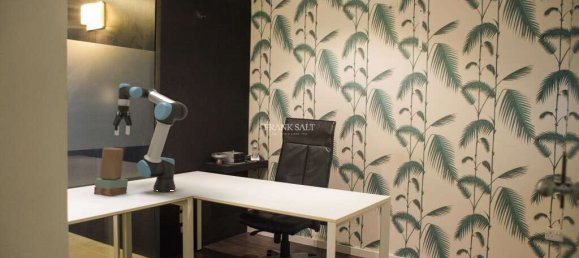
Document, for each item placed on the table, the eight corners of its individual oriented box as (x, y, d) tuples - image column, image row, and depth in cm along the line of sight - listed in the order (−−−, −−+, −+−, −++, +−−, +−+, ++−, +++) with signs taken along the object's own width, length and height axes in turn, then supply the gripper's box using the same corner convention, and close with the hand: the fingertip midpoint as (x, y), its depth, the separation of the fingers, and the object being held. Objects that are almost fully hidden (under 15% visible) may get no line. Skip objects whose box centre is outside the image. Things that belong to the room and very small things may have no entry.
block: (114, 180, 275) (117, 149, 275) (99, 178, 276) (102, 147, 276) (121, 178, 285) (124, 148, 285) (106, 177, 286) (109, 147, 286)
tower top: (127, 186, 284) (127, 179, 284) (109, 189, 271) (109, 181, 271) (112, 184, 290) (113, 176, 290) (94, 186, 278) (95, 178, 278)
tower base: (126, 193, 286) (126, 186, 286) (112, 197, 272) (113, 189, 272) (108, 191, 290) (108, 184, 289) (94, 194, 276) (94, 187, 276)
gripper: (128, 105, 321) (127, 133, 322) (108, 104, 297) (107, 135, 297) (137, 106, 320) (136, 134, 320) (118, 105, 295) (116, 135, 296)
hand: (122, 134), depth 309 cm, fingers open, 13 cm apart
